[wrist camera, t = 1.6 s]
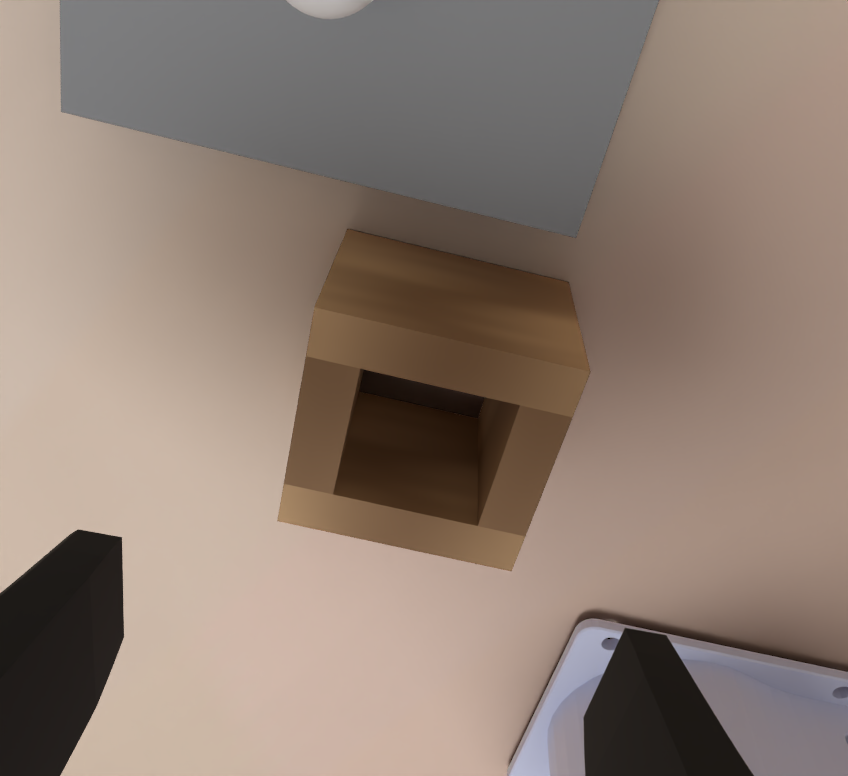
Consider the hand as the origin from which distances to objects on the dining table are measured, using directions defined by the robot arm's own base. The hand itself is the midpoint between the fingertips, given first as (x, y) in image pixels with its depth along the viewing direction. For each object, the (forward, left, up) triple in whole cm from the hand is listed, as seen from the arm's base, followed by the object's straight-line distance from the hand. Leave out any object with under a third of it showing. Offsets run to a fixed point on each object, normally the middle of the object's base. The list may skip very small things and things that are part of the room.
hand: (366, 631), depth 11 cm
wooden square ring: (-1, 0, -8) cm, 9 cm away
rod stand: (+2, -8, -8) cm, 12 cm away
